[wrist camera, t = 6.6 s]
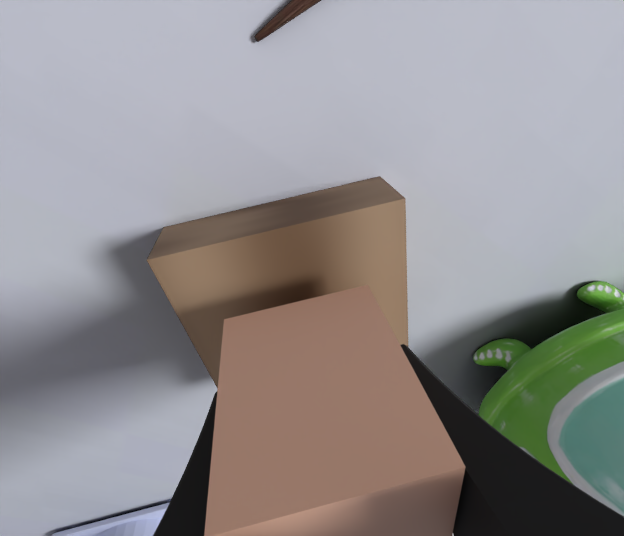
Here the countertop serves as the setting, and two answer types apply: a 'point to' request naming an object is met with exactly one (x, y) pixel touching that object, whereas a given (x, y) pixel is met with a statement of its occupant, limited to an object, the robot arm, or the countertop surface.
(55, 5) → the countertop surface
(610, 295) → the turtle holder
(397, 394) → the terracotta block
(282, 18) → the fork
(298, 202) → the walnut block
